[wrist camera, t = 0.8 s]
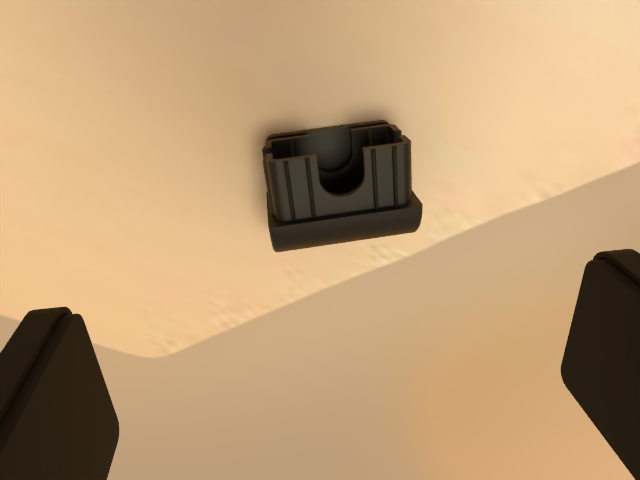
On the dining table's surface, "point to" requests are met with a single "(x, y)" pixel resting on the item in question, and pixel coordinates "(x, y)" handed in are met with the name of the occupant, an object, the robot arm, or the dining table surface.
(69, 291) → the dining table surface
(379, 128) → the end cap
